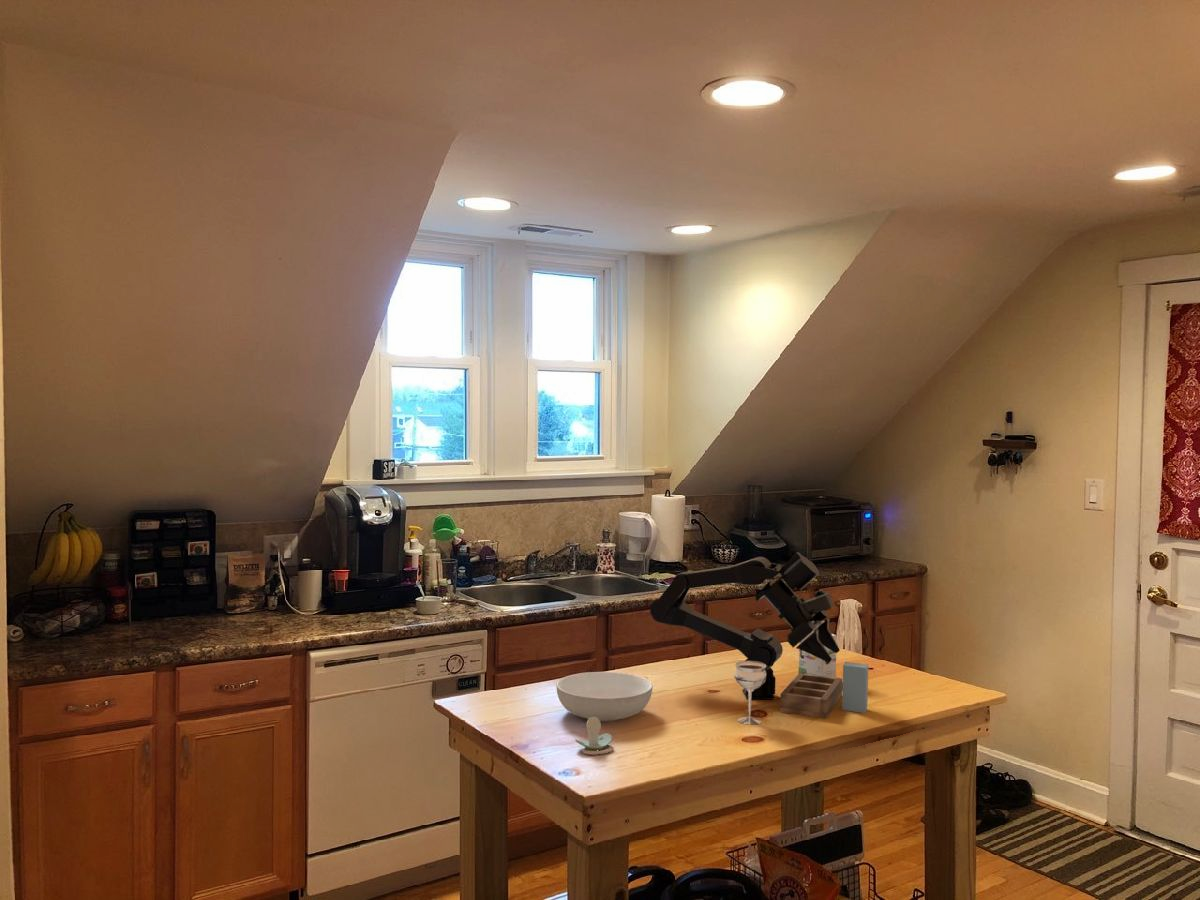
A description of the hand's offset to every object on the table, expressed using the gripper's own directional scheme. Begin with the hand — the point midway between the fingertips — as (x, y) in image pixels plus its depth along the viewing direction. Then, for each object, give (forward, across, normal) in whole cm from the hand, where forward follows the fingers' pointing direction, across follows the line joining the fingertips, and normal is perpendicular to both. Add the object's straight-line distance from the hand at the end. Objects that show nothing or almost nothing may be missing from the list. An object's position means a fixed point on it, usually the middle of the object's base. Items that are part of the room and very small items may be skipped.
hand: (834, 656), depth 208 cm
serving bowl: (-23, -29, +39) cm, 53 cm away
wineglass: (-2, -18, +18) cm, 26 cm away
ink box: (+3, +20, +14) cm, 24 cm away
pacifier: (-17, -49, +34) cm, 62 cm away
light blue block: (+11, 0, +5) cm, 12 cm away
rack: (+5, 0, +11) cm, 12 cm away
